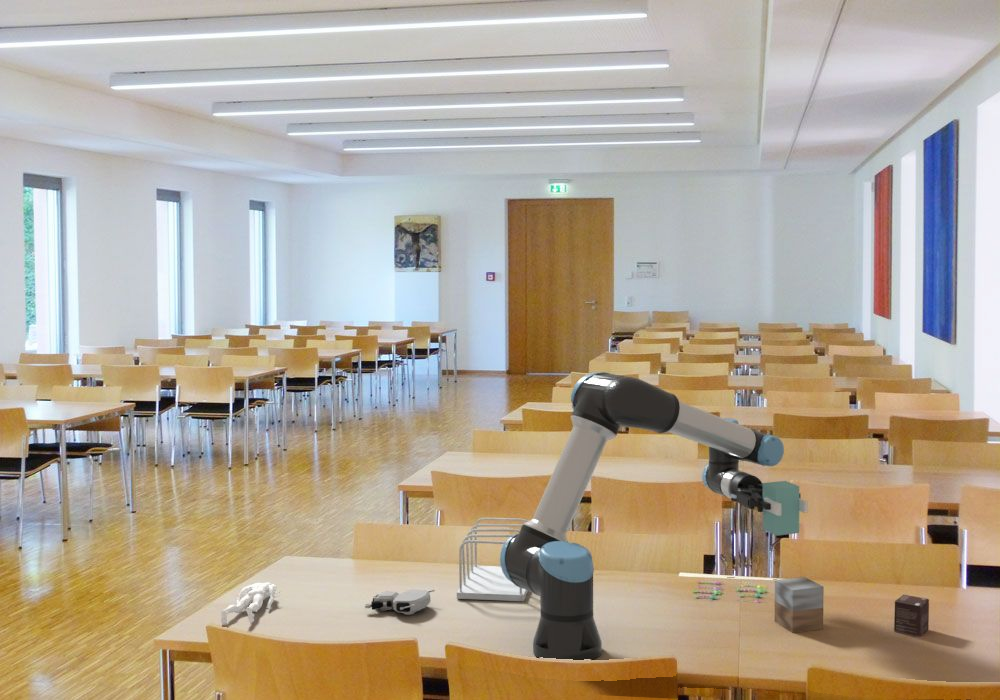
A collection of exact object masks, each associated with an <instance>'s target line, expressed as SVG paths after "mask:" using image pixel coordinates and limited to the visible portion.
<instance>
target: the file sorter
mask: <svg viewBox="0 0 1000 700" xmlns="http://www.w3.org/2000/svg"><path fill="white" fill-rule="evenodd" d="M481 521H504V522H505V521H510V522H515V521H516V522H523V523H525V522H528V521H529V520H527V518H526V519H525V518H513V517H510V518H509V517H508V518H507V517H481V518H479V519H477V521H476V522H475V524H474V526H472V527H471V529H470V530H469V532H467V535H466V536H465V537H464V538H463V540H462V543H461V544H460V546H459V554H458V555H459V557H458V558H459V560H458V561H459V563H458V565H459V588H458V590H457V591H456V599H458V600H483V601H504V602H505V601H507V602H524V601H525V600H526V597H527V595H528V592H529V591H528V590H526V589H522V588H520V587H518V586H516V585H515V584H514V583H512V582H511V581H509V580H508V579H507V578H506V577H505V575H504V574H503V571H502V568H501V565H500V566H499V565H498V566H495V565H494V566H493V565H478V544H491V545H492V544H493V545H494V544H496V545H504V543H505V542H506V541H507V540H506V541H503V540H501V541H498V540H496V541H495V540H478V539H477V538H510V537H512V536H513V535H514V534H477V532H504V533H506V532H509V533H510V532H511V533H513V532H516V533H519V532H520V530H521V529H517V528H521V527H522V525H523V524H520V523H519V524H518V523H479V522H481ZM479 527H502V528H479ZM503 527H513V528H503ZM514 527H517V528H514ZM473 533H474V534H473ZM469 538H470V539H469ZM473 538H474V539H473ZM465 545H466V546H465ZM469 545H470V548H469ZM473 546H474V551H473ZM465 548H466V549H465ZM469 549H470V553H469ZM465 550H466V552H465ZM473 552H474V553H473ZM465 553H466V556H465ZM469 554H470V555H469ZM469 556H470V557H469ZM465 557H466V558H465ZM465 560H466V561H465ZM466 568H467V569H466ZM462 574H463V575H462Z"/></svg>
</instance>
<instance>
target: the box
mask: <svg viewBox="0 0 1000 700" xmlns="http://www.w3.org/2000/svg"><path fill="white" fill-rule="evenodd" d="M929 614H930V600H929V598H925V597H921V596H920V597H919V596H913V595H908V594H902V595H901V596H899V597H898V598H897V599H895V600H894V618H893V619H894V622H893V623H894V628H893V629H894V630H893V631H894V632H895V633H898V634H904V635H910V636H915V637H919V638H920V637H921V636H922V635H924V633H926V632H927V631H928V630H929V623H930V622H929V621H930V620H929V618H930V615H929Z"/></svg>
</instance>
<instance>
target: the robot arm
mask: <svg viewBox="0 0 1000 700" xmlns="http://www.w3.org/2000/svg"><path fill="white" fill-rule="evenodd" d="M570 394H571V396H570V402H571V408H572V410H573V411H572V412H571V415H570V421H571V423H572V429H571V431H570V433H569V436H568V438H567V440H566V443H565V445H564V447H563V449H562V451H561V454H560V456H559V458H558V461H557V463H556V465H555V467H554V470H553V472H552V474H551V476H550V478H549V480H548V483H547V486H546V487H545V489H544V492H543V494H542V497H541V498H540V501H539V504H538V506H537V508H536V510H535V512H534V515H533V517H532V519H530V520H528V522H523V523H522V524H521V525H522V527H520V529H519V530H520V532H518V533H516V534H512V535H513V536H512V537H508V538H507V540H506V542H505V543H504V544H502V548H501V550H500V555H499V565H500V567H501V568H502V571H503V574H504V575H505V577H506V578H507V579H508V580H509V581H511V582H512V583H514V584H515V585H516V586H518V587H520V588H522V589H526V590H528V592H529V593H532V594H535V595H537V596H538V597H539V599H540V601H539V603H540V607H539V608H540V616H539V617H540V618H539V622H538V625H537V628H536V631H535V634H534V637H533V641H532V651H533V652H532V653H533V655H534V656H535V657H537V658H538V657H543V658H556V659H573V660H584V659H594V660H595V659H597V658H599V657H600V656H601V655H602V650H603V649H602V648H603V647H602V640H601V636H600V634H599V630H598V627H597V624H596V620H595V618H594V571H595V568H594V562H593V555H592V552H591V551H590V550H589V549H588V548H587V547H585V546H584V545H581V544H579V543H575V542H569V540H568V539H567V538H568V537H567V533H568V531H569V529H570V527H571V523H572V521H573V519H574V518H575V515H576V513H577V512H578V511H577V510H578V508H579V505H580V503H581V501H582V498H583V497H584V495H585V492H586V489H587V488H588V485H589V483H590V480H591V478H592V476H593V474H594V471H595V469H596V466H597V464H598V462H599V460H600V458H601V455H602V454H603V451H604V448H605V446H606V443H607V442H608V441H610V440H612V439H615V438H616V437H617V435H618V433H619V431H620V428H621V427H624V428H631V429H639V430H640V429H642V430H647V431H650V432H651V431H652V432H655V433H656V434H657V433H658V434H662V435H663V434H667V433H669V434H673V435H675V436H678V437H681V438H684V439H686V440H689V441H693V442H695V443H698V444H701V445H703V446H706V447H708V464H706V466H705V467H704V469H703V471H702V474H701V479H702V482H703V484H704V485H705V487H706V488H708V489H709V490H711V492H713V493H715V494H717V495H721V496H724V497H725V498H728V499H730V501H731V502H735V503H738V504H740V505H742V506H744V507H746V508H747V509H750V510H754V509H755V507H756V509H757V512H758V513H763V509H764V510H766V511H769V512H771V513H773V514H775V515H778V516H781V503H778V502H776V501H773V500H771V499H768V498H764V500H763V482H762V480H761V479H760V478H759V477H758V476H756V475H752V474H750V473H748V472H746V471H743V470H740V469H739V467H740V466H739V463H740V461H742V462H746V463H747V462H748V463H751V464H754V465H756V464H757V465H760V466H763V467H766V466H767V467H775V466H777V465H779V464H780V462H781V461H782V459H783V457H784V453H785V446H784V443H783V441H782V440H781V439H780V438H779V437H777V436H776V435H772V434H769V433H768V434H767V433H761V432H760V431H756V430H754V429H751V428H749V427H747V426H744V425H741V424H739V421H738V420H737V419H736V418H735V419H734V418H727V417H720V416H718V415H715V414H713V413H710V412H708V411H705V410H702V409H700V408H697V407H695V406H693V405H690V404H687V403H684V402H682V401H680V399H679V397H678V396H677V395H676V394H674V393H672V392H668V391H667V390H664V389H662V388H660V387H658V386H655V385H653V384H651V383H649V382H647V381H644V380H642V379H640V378H637V377H633V376H626V375H625V376H624V375H621V374H615V373H614V374H613V373H609V372H602V371H601V372H591V373H588V374H585V375H584V376H582V377H580V379H578V381H577V382H576V383H575V385H574V386H573V388H572V391H571V393H570ZM799 512H801V513H803V514H807V513H808V501H807V500H806V499H804V498H801V492H799Z"/></svg>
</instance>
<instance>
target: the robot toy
mask: <svg viewBox="0 0 1000 700" xmlns="http://www.w3.org/2000/svg"><path fill="white" fill-rule="evenodd" d="M435 591H436V590H435V589H431V590H429V591H428V590H427V589H410V590H406V591H404V592H401V593H398V592H397V591H392V590H388V591H387V590H385V591H382V592H380V593H378V594H376V595H374V596H373V598H372V601H371V603H366V604H365V605H364V608H365V609H370V608H371V610H373V611H374V610H381V611H382V612H385V611H387V610H389V611H390V610H394V611H395V612H396V613H402V614H404V615H406V616H411V615H414V614H416V612H417V613H418V612H419V611H421V610H423V609H425V608H427V607H428V605H429V604H430V603H431V601H432V600H431V593H432V592H433V593H434V592H435Z"/></svg>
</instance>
